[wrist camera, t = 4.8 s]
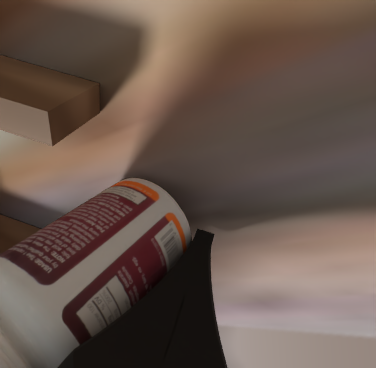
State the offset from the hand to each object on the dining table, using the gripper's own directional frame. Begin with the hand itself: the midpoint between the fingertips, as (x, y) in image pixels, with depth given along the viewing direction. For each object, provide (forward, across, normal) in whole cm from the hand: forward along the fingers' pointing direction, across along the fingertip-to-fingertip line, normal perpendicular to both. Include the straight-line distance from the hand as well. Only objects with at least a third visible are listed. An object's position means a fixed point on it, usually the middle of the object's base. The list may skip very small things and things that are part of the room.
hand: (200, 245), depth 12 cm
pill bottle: (+1, +2, 0) cm, 3 cm away
